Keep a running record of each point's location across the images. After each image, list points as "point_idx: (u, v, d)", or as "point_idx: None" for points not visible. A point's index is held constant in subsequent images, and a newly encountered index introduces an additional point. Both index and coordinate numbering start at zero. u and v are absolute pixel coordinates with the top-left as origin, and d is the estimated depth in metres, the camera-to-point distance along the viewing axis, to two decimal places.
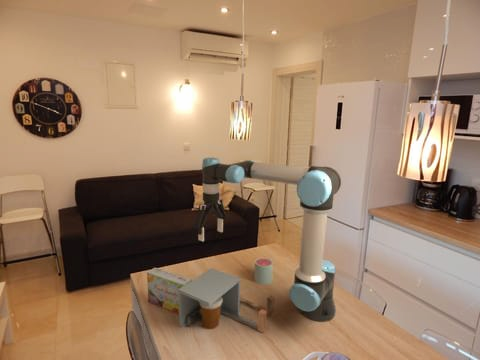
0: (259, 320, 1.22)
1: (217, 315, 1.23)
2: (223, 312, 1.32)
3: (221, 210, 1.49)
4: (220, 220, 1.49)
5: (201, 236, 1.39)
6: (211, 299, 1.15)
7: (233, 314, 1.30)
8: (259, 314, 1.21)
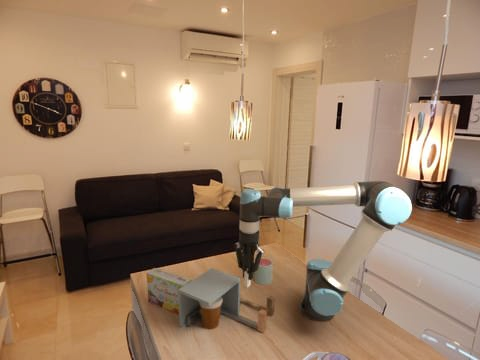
0: (259, 320, 1.22)
1: (217, 315, 1.23)
2: (223, 312, 1.32)
3: None
4: None
5: None
6: (211, 299, 1.15)
7: (233, 314, 1.30)
8: (259, 314, 1.21)
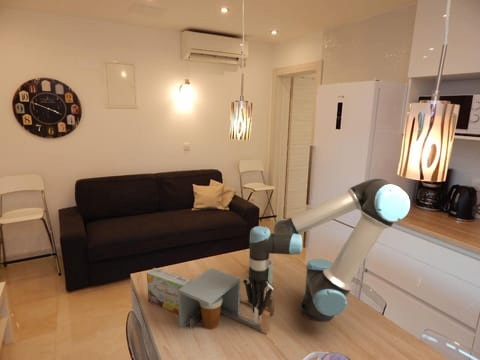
0: (262, 321, 1.21)
1: (217, 315, 1.23)
2: (226, 313, 1.31)
3: None
4: None
5: None
6: (211, 299, 1.15)
7: (236, 315, 1.29)
8: (262, 315, 1.20)
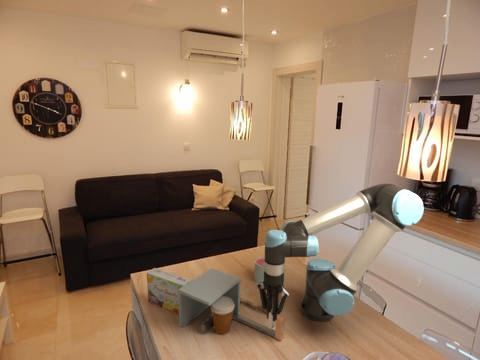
0: (277, 328, 1.18)
1: (229, 321, 1.20)
2: (238, 319, 1.28)
3: None
4: None
5: None
6: (211, 299, 1.15)
7: (249, 321, 1.26)
8: (277, 321, 1.17)
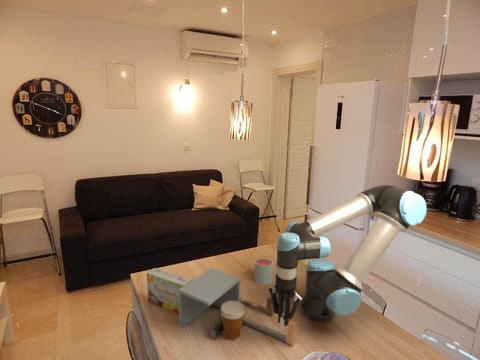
0: (288, 333, 1.15)
1: (239, 326, 1.17)
2: (248, 323, 1.26)
3: (292, 308, 1.14)
4: None
5: None
6: (211, 299, 1.15)
7: (259, 325, 1.24)
8: (288, 326, 1.15)
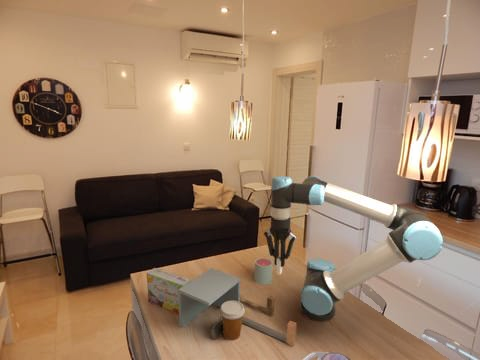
0: (288, 332, 1.15)
1: (239, 326, 1.17)
2: (248, 323, 1.26)
3: None
4: None
5: None
6: (211, 299, 1.15)
7: (259, 325, 1.24)
8: (288, 326, 1.15)
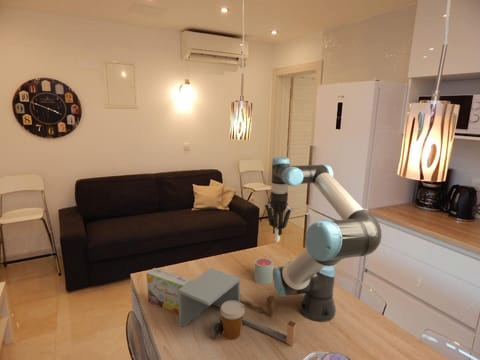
0: (288, 332, 1.15)
1: (239, 326, 1.17)
2: (248, 323, 1.26)
3: None
4: None
5: None
6: (211, 299, 1.15)
7: (259, 325, 1.24)
8: (288, 326, 1.15)
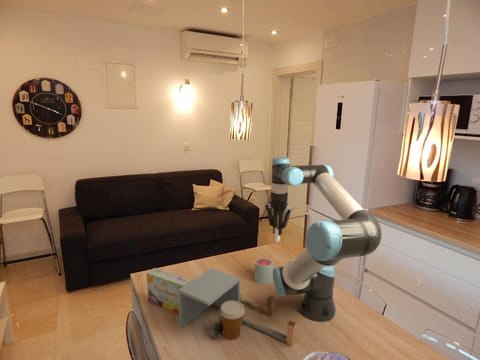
0: (288, 332, 1.15)
1: (239, 326, 1.17)
2: (248, 323, 1.26)
3: None
4: None
5: None
6: (211, 299, 1.15)
7: (259, 325, 1.24)
8: (288, 326, 1.15)
